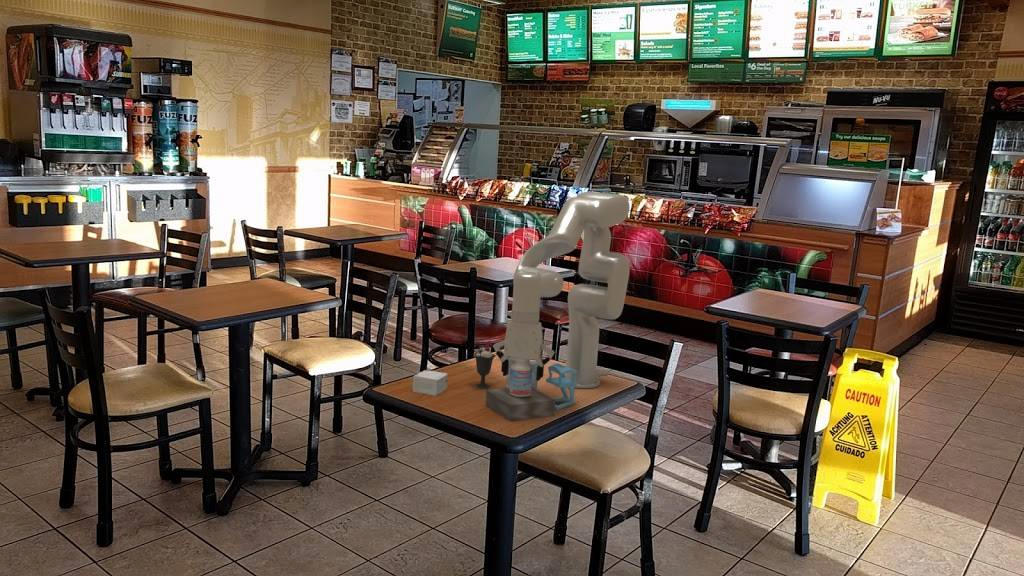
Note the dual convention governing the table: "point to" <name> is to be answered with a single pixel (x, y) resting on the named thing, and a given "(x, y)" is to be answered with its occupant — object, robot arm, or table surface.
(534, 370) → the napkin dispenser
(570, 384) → the chair
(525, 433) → the table surface
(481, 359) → the sundae
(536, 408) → the riser block
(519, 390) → the pill bottle
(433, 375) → the small box
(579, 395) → the table surface
